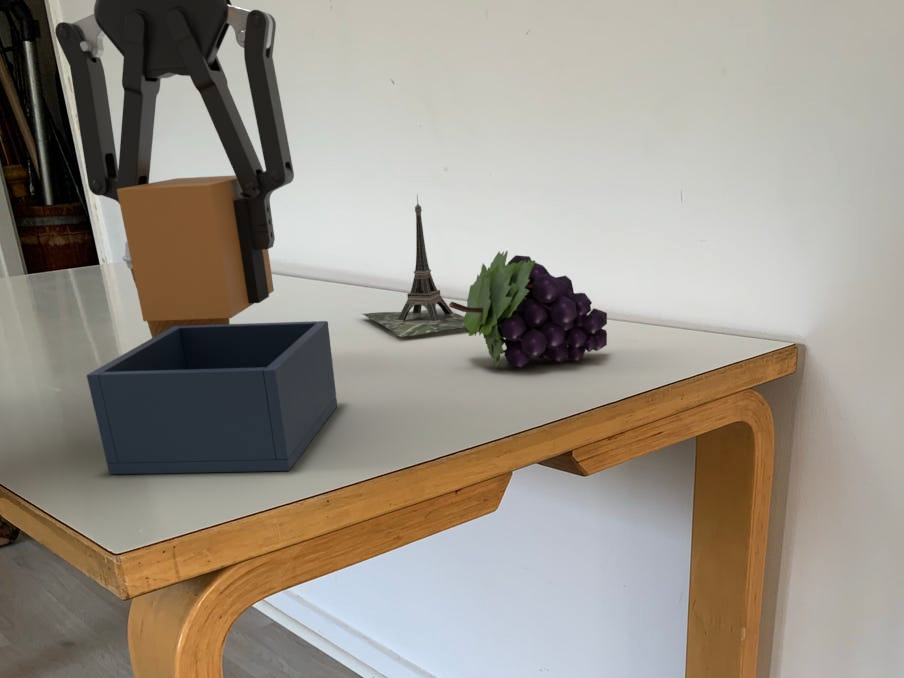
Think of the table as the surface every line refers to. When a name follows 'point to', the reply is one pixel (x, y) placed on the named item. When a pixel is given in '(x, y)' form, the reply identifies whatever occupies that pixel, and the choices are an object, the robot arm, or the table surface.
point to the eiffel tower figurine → (420, 300)
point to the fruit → (531, 313)
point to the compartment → (215, 398)
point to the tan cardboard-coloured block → (187, 248)
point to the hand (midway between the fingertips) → (212, 301)
